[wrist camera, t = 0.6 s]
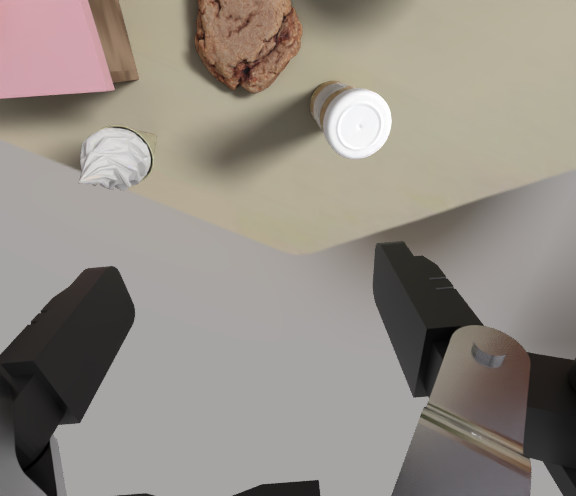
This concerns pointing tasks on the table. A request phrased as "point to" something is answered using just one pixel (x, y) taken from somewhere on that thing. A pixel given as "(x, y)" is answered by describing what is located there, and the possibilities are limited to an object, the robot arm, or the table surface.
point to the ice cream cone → (117, 157)
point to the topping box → (114, 39)
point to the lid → (50, 49)
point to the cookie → (247, 40)
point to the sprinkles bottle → (351, 118)
